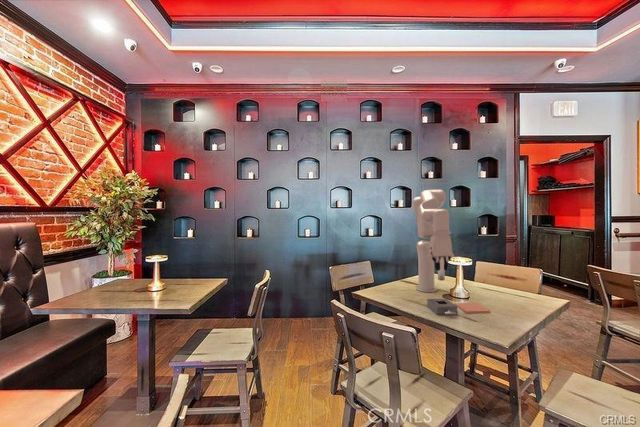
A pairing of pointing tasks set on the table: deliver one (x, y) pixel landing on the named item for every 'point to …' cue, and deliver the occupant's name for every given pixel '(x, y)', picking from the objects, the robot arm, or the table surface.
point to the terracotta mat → (472, 308)
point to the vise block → (442, 306)
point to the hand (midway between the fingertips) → (441, 269)
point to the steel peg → (441, 268)
